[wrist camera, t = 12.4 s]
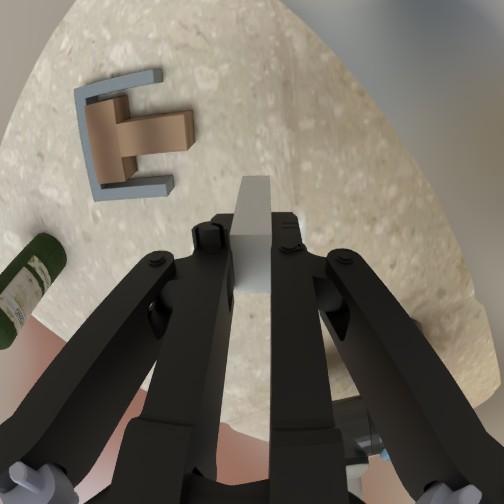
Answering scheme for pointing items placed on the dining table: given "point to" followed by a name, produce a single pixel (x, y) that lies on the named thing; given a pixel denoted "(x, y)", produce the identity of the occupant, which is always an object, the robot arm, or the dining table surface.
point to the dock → (99, 191)
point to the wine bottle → (27, 283)
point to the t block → (132, 137)
